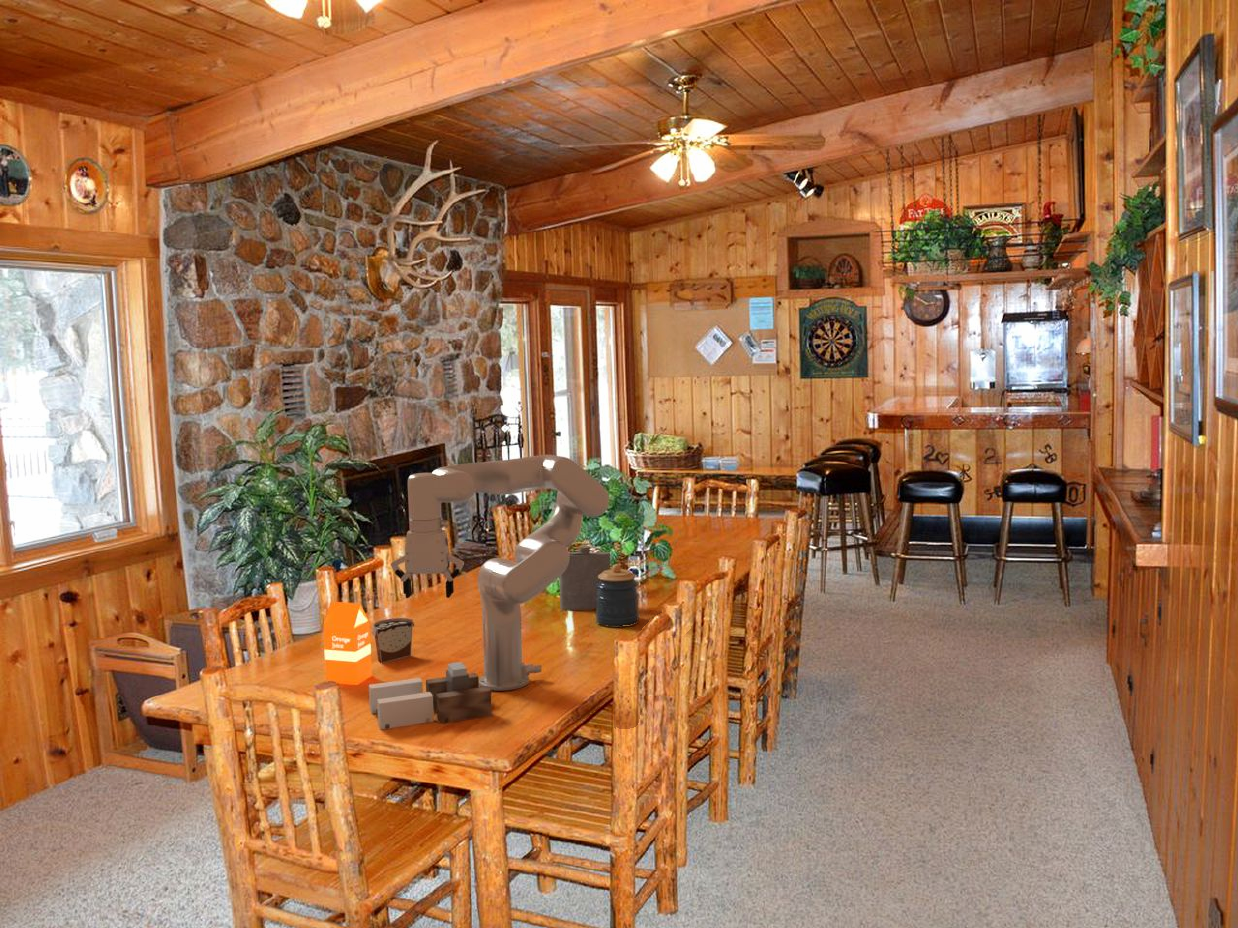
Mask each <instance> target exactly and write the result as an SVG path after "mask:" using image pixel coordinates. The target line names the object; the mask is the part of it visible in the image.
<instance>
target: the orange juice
mask: <svg viewBox="0 0 1238 928" xmlns="http://www.w3.org/2000/svg"><path fill="white" fill-rule="evenodd" d="M370 627H371V626H370V620H369V619H368V617H367V615H366V612H365V609H363V607H362V605H361V603H360V602H359V603H357V602H343V601H329V605H328V609H327V613H326V616H325V620H324V623H323V641H324V643H323V644H324V662H325V663H324V664H325V681H326V683H328V682H327V681H334V682H336V683H335V684H342V685H352V686H353V685H355V686H358V685H360V684H361V683H363V682H365V681H366V680H367V679H369V678H371V677H372V676H373V675H372V674H373V673H372V671H373V670H372V646H371V634H370V633H371V630H370V629H371V628H370Z"/></svg>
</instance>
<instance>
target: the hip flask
mask: <svg viewBox="0 0 1238 928" xmlns="http://www.w3.org/2000/svg"><path fill="white" fill-rule="evenodd" d="M578 550H579V551H575V552H569V564H568V566H567V569H566V570H565V572H564V573H563V574H562V575H561V576H560V577H559V596H560V597H559V601H560V602H559V603H560V605H559V606H560V607H559V608H560V610H561V611H593V610H592V609H596V596H595V595H596V593H597V587H596V586H595V583H596V582H597V581H599V578H598V575H599V574H601V573H602V572H603V571H605V570H610V569H611V553H610V551H600V552H598V551H597V552H591V551H590V550H591V545H580V546H578Z"/></svg>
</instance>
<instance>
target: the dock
mask: <svg viewBox="0 0 1238 928" xmlns="http://www.w3.org/2000/svg"><path fill="white" fill-rule="evenodd" d="M368 696H369V697H368V698H369V712H370V713H371V714H372V715H373V714H376V715H377V726H378V728H379V729H380V730H386V729H393V728H399V727H400V728H401V727H408V726H413V725H419V724H425V723H427V724H428V723H433V722H435V720H434V719H435V717H434V716H435V715H434V708H433V695H432V694H431V693H430V692H426V691H425V692H424V688H423V680H422V679H421V678H420V677H418V678H417V677H416V678H409V679H408V678H407V679H402V680H394V681H388V682H379V683H373V684H368Z"/></svg>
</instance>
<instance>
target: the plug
mask: <svg viewBox="0 0 1238 928" xmlns="http://www.w3.org/2000/svg"><path fill="white" fill-rule="evenodd" d="M468 674H469V673H468V668H467V667H466V665H464V664H463V662H461V661H460V662H459V661H458V662H451V663H447V669H446V670H445V677H446V687H447V692H453V691H460V690H467V689H470V688H469V675H468Z"/></svg>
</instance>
